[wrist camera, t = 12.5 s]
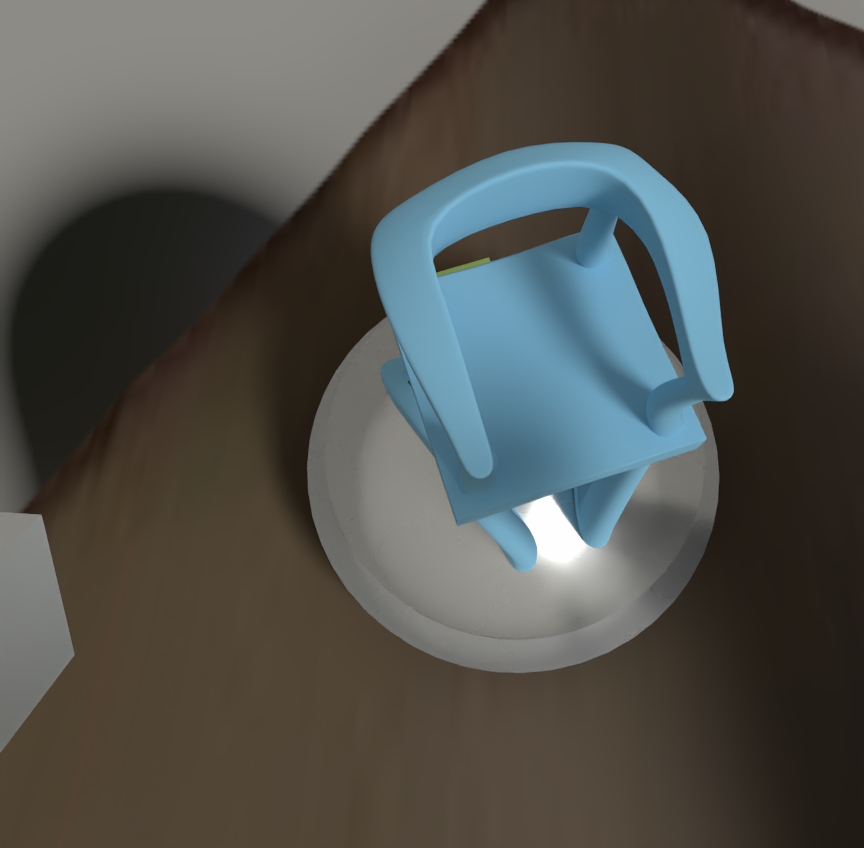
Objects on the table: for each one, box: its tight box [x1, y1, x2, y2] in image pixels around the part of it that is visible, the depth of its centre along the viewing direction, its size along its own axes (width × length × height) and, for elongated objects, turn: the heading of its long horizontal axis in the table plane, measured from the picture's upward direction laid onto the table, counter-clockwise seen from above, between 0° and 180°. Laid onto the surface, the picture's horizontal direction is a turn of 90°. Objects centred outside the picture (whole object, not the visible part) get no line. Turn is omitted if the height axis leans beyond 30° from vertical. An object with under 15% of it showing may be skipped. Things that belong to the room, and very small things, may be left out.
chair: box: [371, 142, 734, 572], centre depth 20 cm, size 8×8×12 cm
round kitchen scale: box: [307, 258, 719, 673], centre depth 28 cm, size 15×15×5 cm
